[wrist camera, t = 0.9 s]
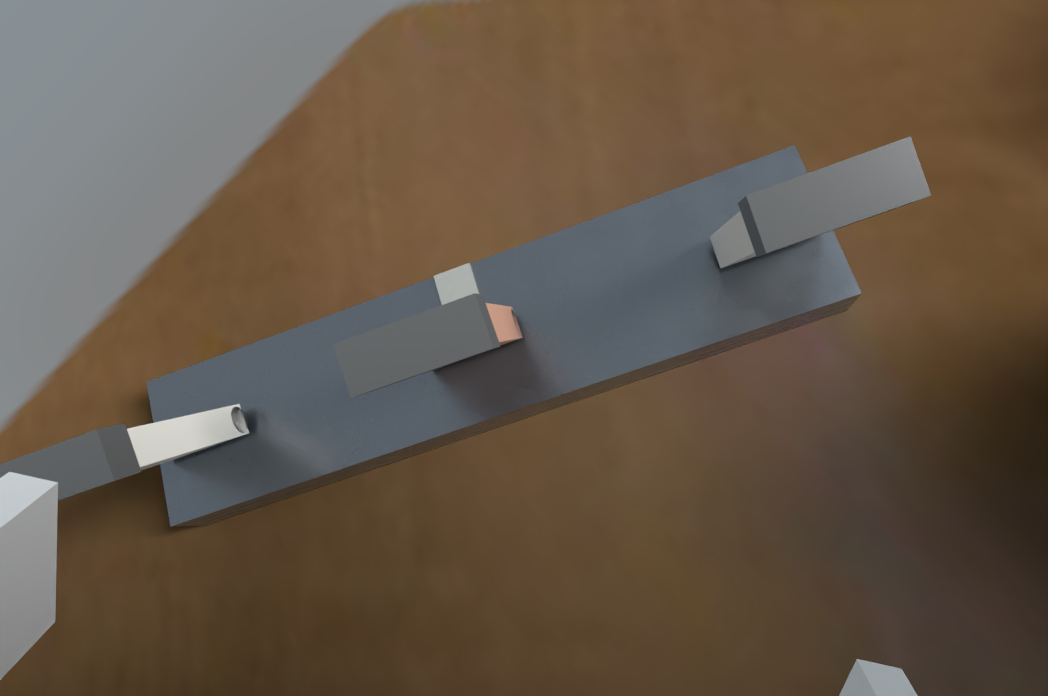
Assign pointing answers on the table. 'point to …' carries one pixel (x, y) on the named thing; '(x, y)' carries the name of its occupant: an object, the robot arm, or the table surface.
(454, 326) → the lever middle
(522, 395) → the switch panel
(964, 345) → the table surface
